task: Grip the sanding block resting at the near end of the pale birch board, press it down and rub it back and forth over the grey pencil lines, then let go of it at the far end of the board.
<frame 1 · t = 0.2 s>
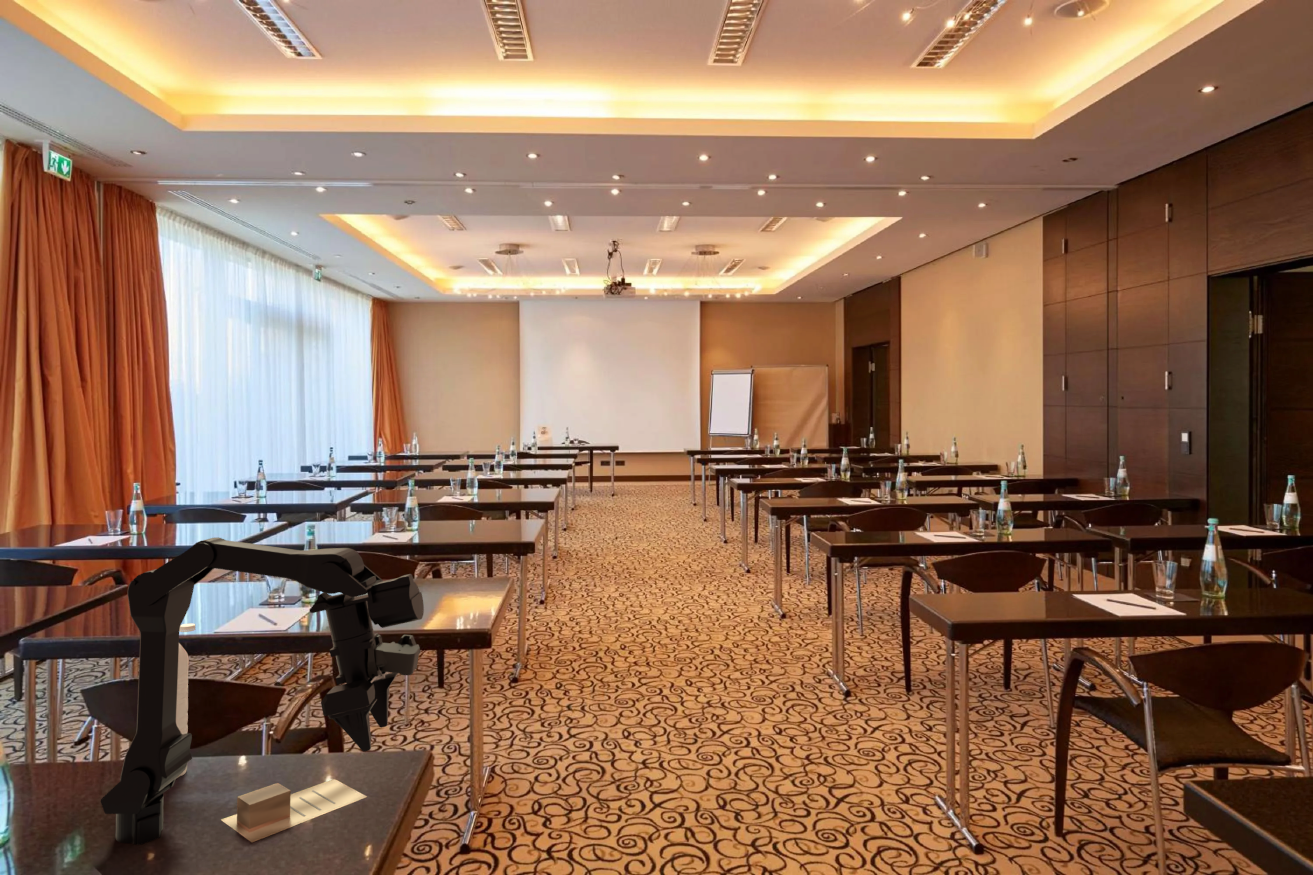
hand: (375, 737, 113), 15 cm above the table, tool pointing down, fingers open, 9 cm apart
birch board: (296, 817, 120), on the table
sanding block: (263, 819, 116), point 1 cm above the table, touching birch board
water bottle: (170, 773, 135), on the table
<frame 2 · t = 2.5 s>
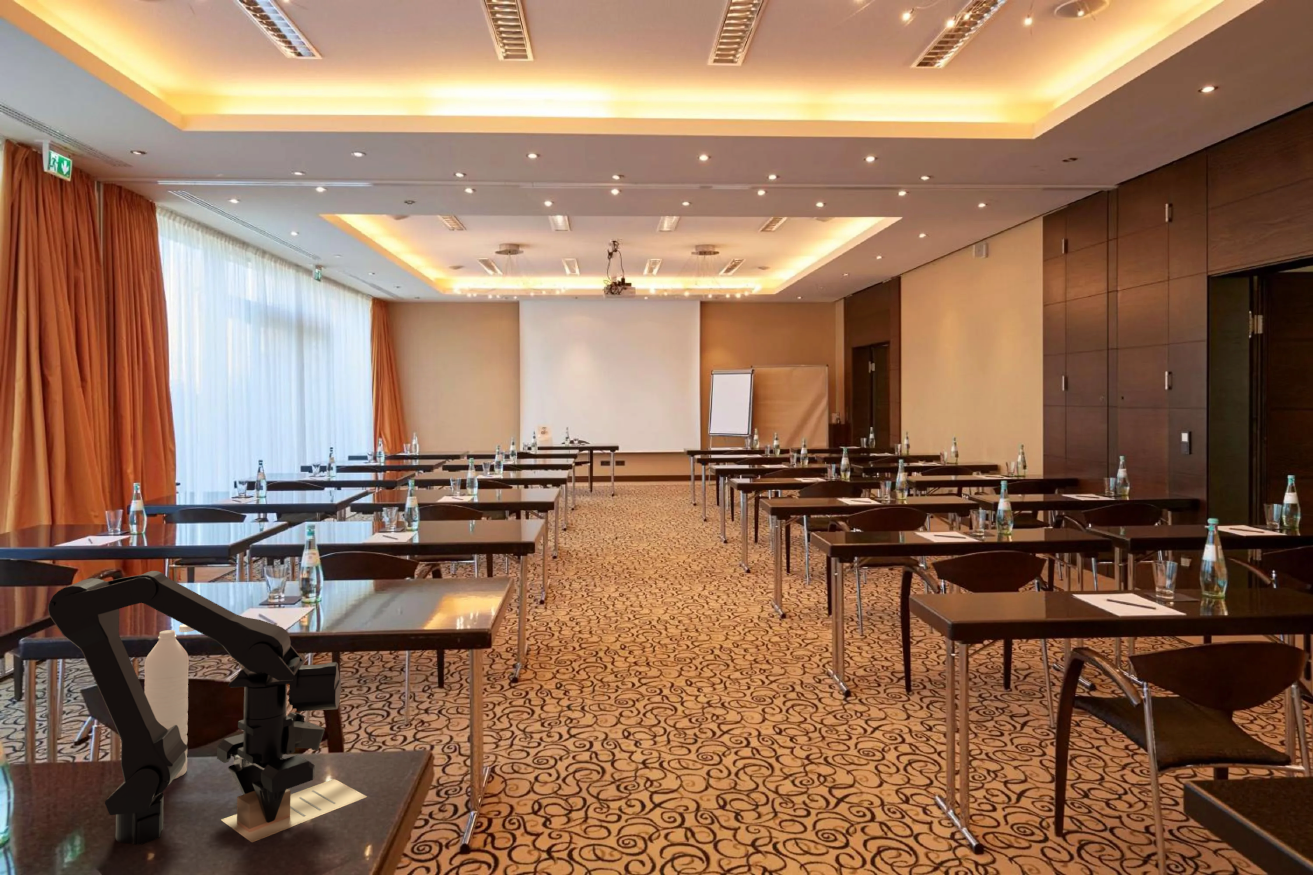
hand: (263, 816, 116), 2 cm above the table, tool pointing down, fingers closed on sanding block, 4 cm apart
sanding block: (263, 819, 116), point 1 cm above the table, touching birch board, gripper
everything else where it was.
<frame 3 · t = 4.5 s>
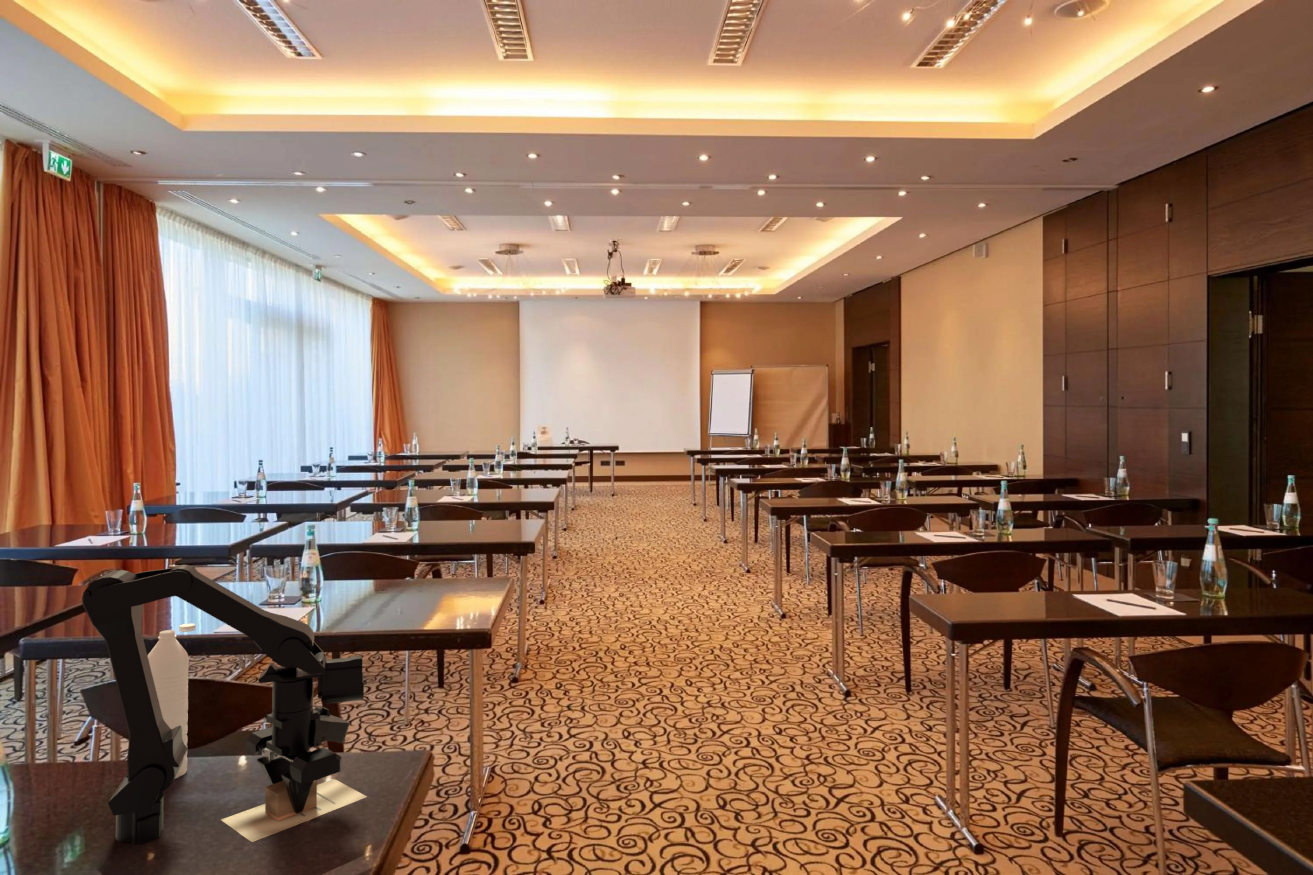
hand: (291, 807, 119), 2 cm above the table, tool pointing down, fingers closed on sanding block, 4 cm apart
sanding block: (291, 809, 119), point 2 cm above the table, touching gripper
everything else where it was.
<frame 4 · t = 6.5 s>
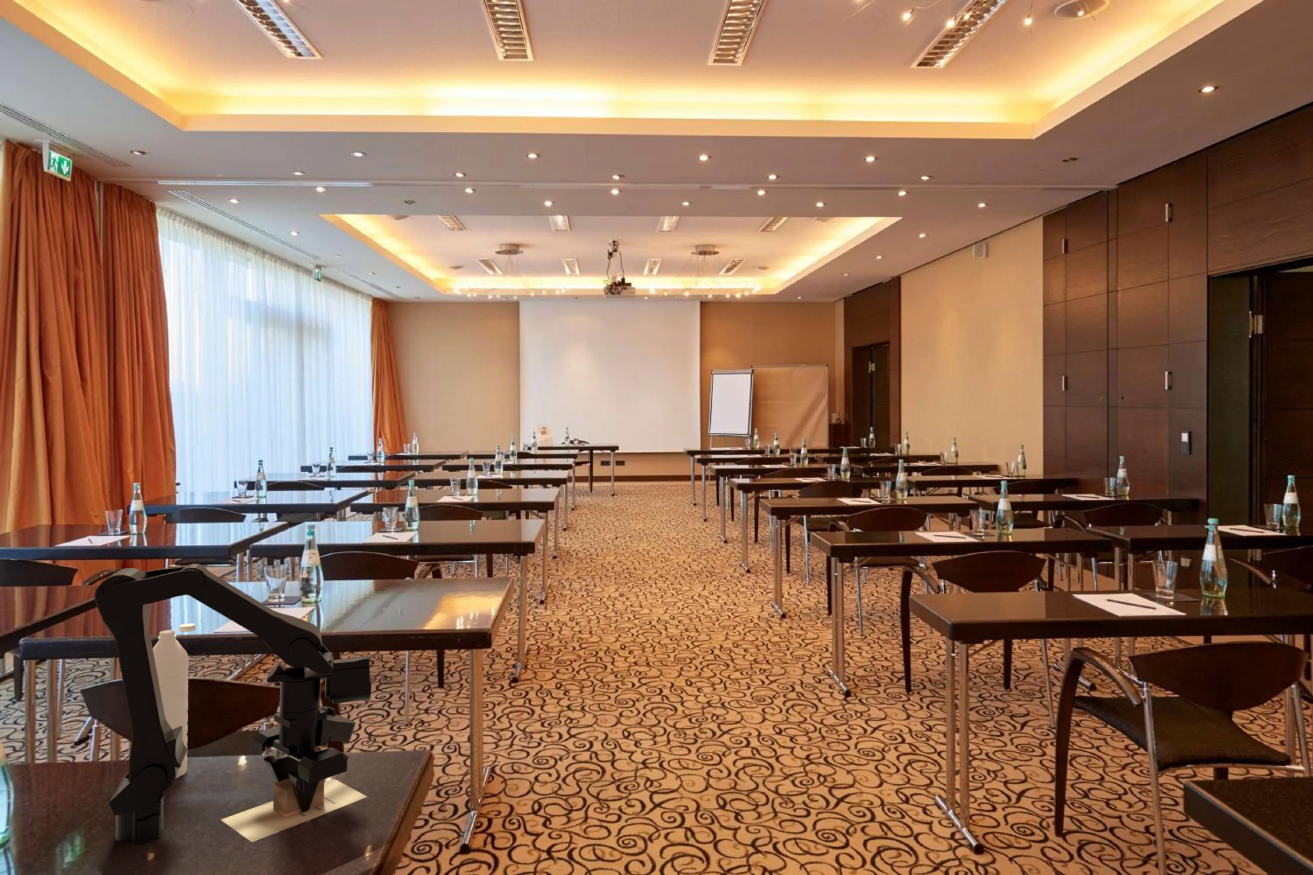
hand: (297, 806, 120), 2 cm above the table, tool pointing down, fingers closed on sanding block, 4 cm apart
sanding block: (298, 805, 120), point 2 cm above the table, touching gripper
everything else where it was.
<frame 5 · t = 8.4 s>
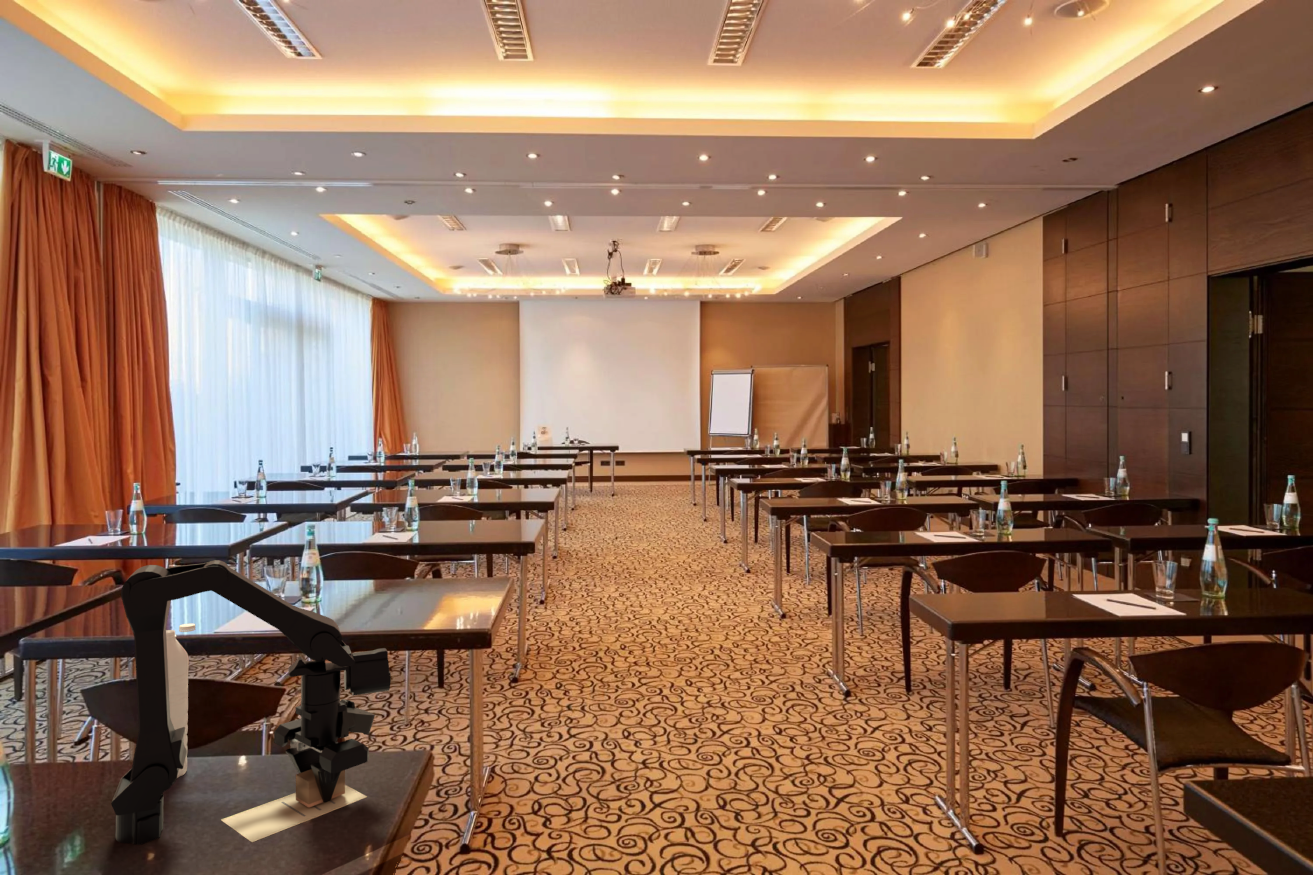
hand: (319, 797, 123), 2 cm above the table, tool pointing down, fingers closed on sanding block, 4 cm apart
sanding block: (320, 796, 123), point 2 cm above the table, touching gripper
everything else where it was.
when the fingers open (2 cm above the table, at t = 9.7 s): sanding block stays where it is, resting on birch board.
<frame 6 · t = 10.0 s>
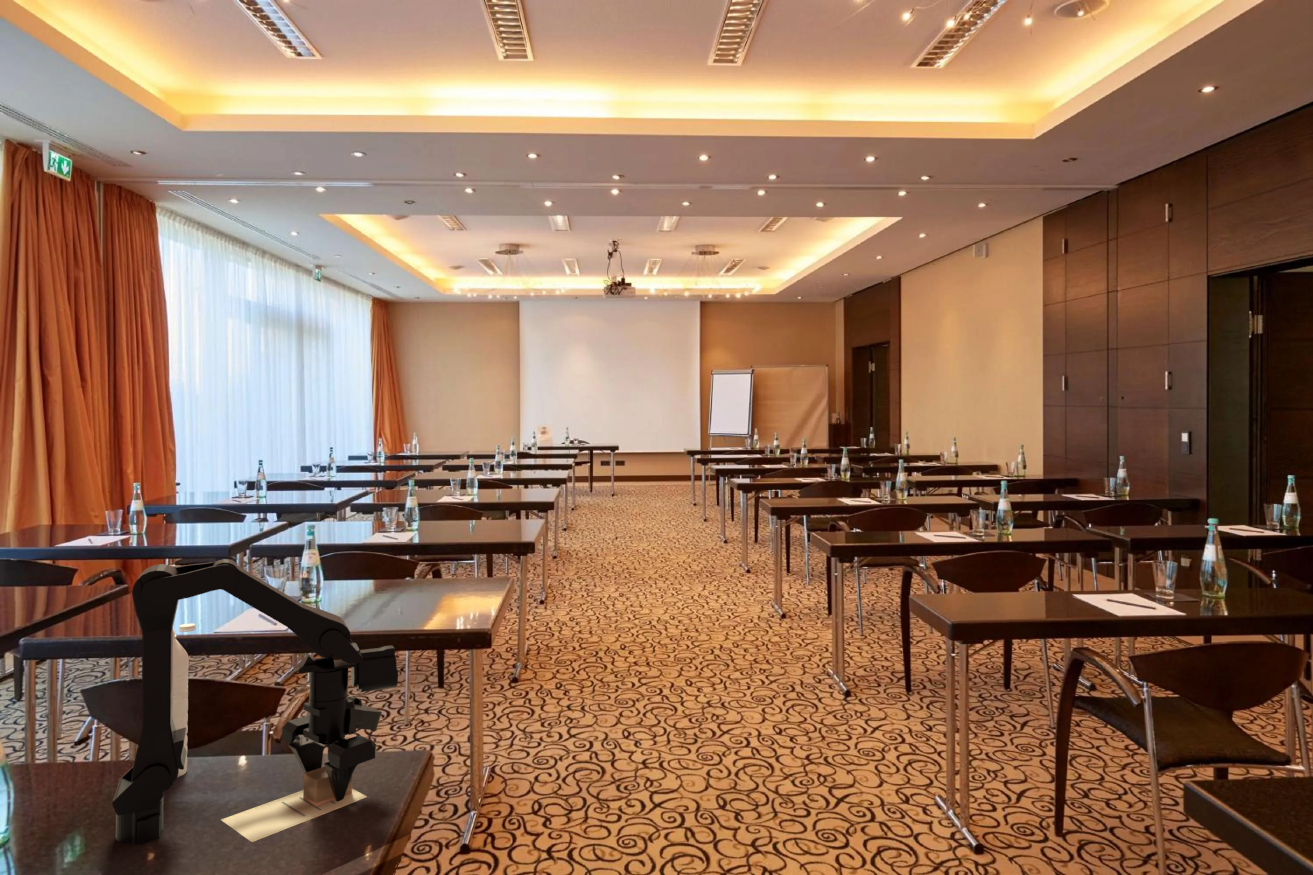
hand: (327, 793, 124), 2 cm above the table, tool pointing down, fingers open, 7 cm apart
sanding block: (327, 795, 124), point 2 cm above the table, touching birch board
everything else where it was.
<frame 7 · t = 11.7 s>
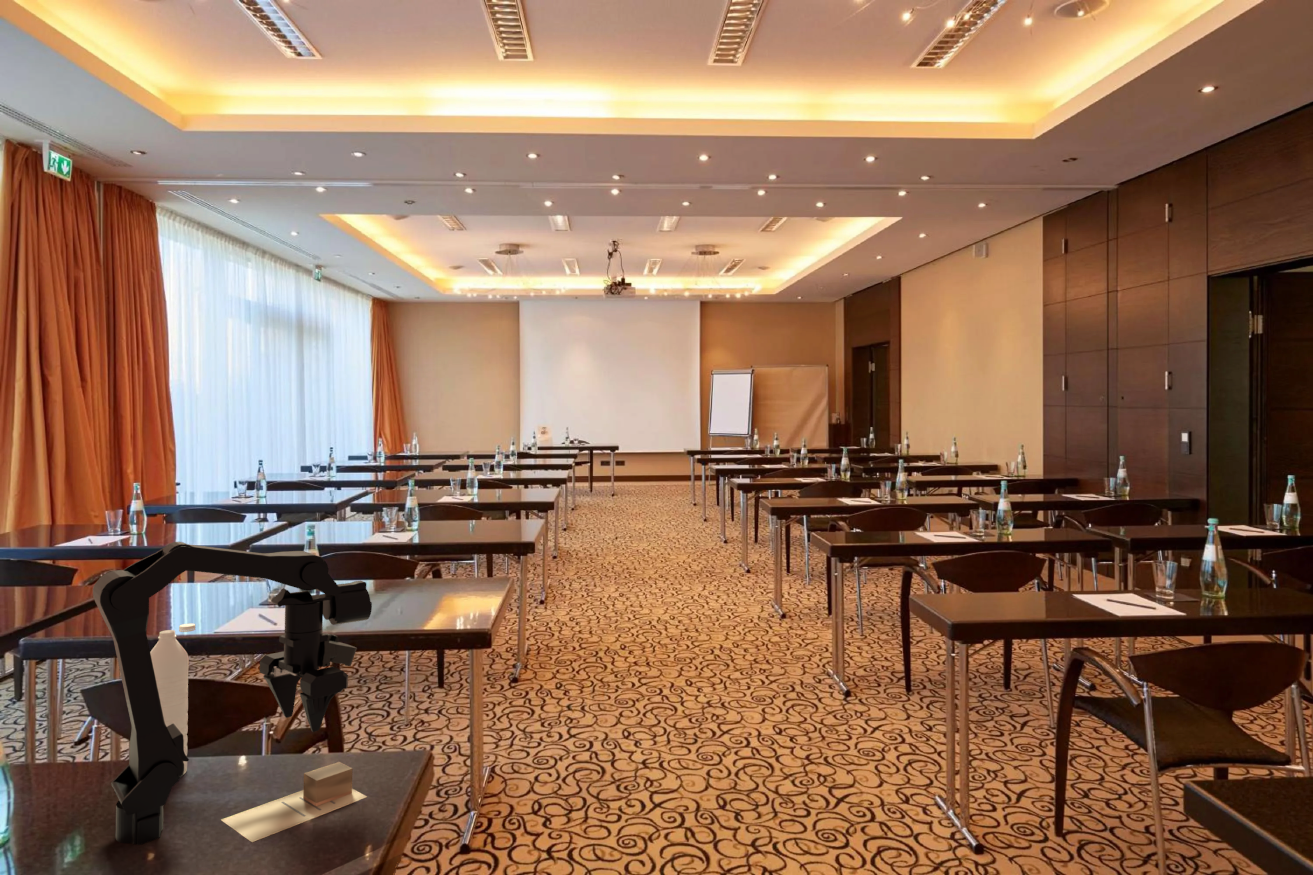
hand: (301, 723, 127), 12 cm above the table, tool pointing down, fingers open, 9 cm apart
nothing on the table moved.
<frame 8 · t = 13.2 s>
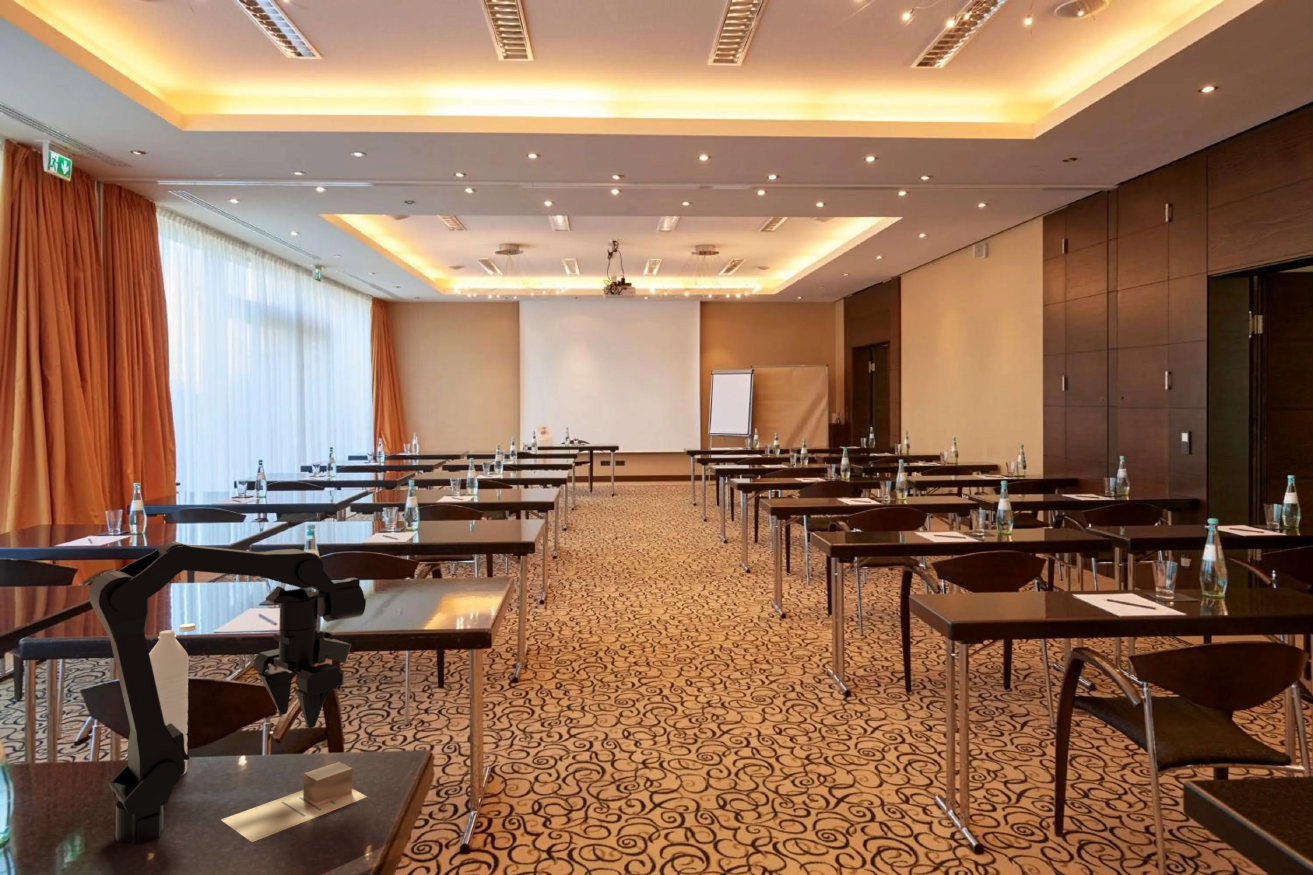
hand: (297, 720, 128), 12 cm above the table, tool pointing down, fingers open, 9 cm apart
nothing on the table moved.
at the end: sanding block inside the target area on the birch board (0.2 cm from its centre), point 1.5 cm above the birch board's base; sanding block tilted 1°; the gripper is holding nothing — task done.
